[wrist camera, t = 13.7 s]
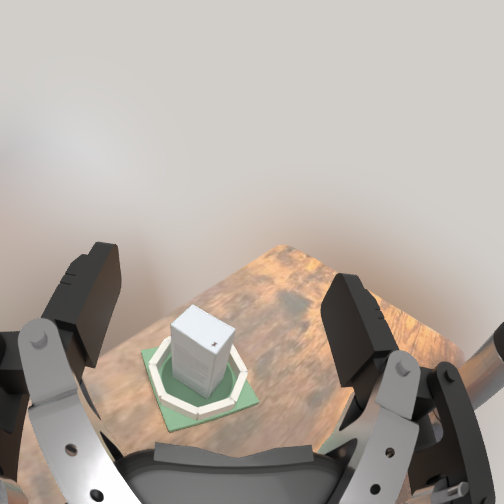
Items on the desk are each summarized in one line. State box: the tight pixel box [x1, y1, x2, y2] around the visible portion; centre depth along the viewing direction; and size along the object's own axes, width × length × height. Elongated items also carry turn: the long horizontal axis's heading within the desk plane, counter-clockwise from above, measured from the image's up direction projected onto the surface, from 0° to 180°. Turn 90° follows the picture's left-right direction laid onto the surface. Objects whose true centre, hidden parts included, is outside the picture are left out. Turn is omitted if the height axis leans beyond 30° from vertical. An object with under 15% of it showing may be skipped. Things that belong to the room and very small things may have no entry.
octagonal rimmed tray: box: [141, 336, 259, 433], centre depth 35 cm, size 13×13×4 cm
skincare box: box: [170, 305, 236, 399], centre depth 32 cm, size 6×4×12 cm
